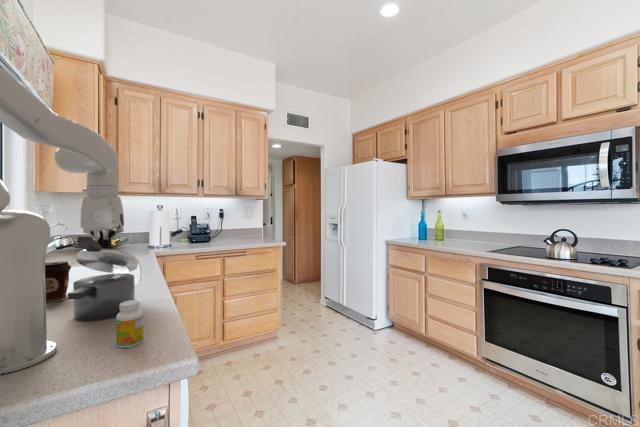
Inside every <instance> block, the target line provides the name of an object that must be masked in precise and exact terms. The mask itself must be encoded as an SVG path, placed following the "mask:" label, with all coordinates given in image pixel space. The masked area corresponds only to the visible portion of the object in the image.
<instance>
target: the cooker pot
mask: <svg viewBox="0 0 640 427" xmlns="http://www.w3.org/2000/svg"><path fill="white" fill-rule="evenodd" d="M72 287H73V288H72V289H73V290H72V291H70V292H67V300H73V316H74V320H76V321H79V322H95V321H103V320H109V319H113V318H116V316H117V314H118V313H120V312H121V311H120V309H119V305H120V303H122V302H125V301H130V300H136V296H135V295H136V293H135V292H136V291H135V275H134V274H131V273H108V274H99V275H94V276H88V277H85V278H84V277H83V278H81V279H78V280H75V281H73V286H72Z"/></svg>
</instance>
